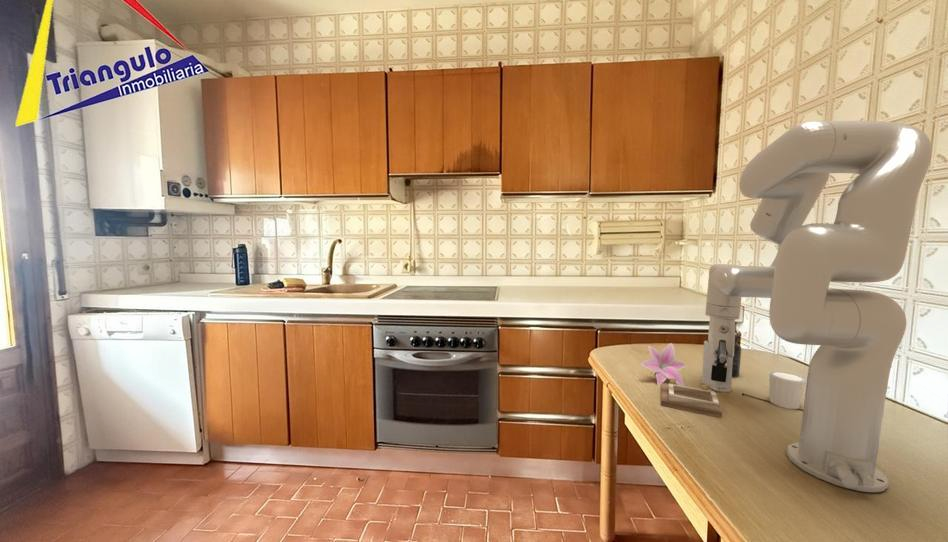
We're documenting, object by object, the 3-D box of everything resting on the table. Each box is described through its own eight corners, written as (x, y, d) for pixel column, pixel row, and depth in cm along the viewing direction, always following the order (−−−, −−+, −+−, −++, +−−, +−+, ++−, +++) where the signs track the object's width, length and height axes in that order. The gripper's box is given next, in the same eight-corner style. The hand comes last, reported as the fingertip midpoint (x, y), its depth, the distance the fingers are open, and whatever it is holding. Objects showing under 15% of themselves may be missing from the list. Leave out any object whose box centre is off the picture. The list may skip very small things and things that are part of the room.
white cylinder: (810, 411, 86) (813, 383, 86) (776, 408, 88) (780, 380, 87) (791, 399, 93) (794, 372, 92) (760, 396, 94) (763, 369, 94)
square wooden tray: (721, 418, 82) (722, 404, 82) (661, 405, 87) (662, 392, 87) (714, 396, 93) (715, 384, 93) (661, 386, 98) (662, 375, 98)
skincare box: (731, 392, 96) (736, 347, 95) (715, 391, 96) (719, 346, 95) (715, 382, 102) (719, 340, 101) (699, 382, 102) (703, 339, 101)
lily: (631, 383, 103) (645, 360, 98) (637, 356, 112) (649, 334, 107) (676, 403, 99) (693, 380, 94) (678, 374, 108) (693, 352, 103)
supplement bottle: (738, 372, 111) (742, 333, 110) (739, 379, 105) (744, 338, 104) (711, 367, 115) (714, 329, 113) (711, 374, 109) (715, 334, 108)
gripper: (746, 319, 88) (739, 390, 89) (733, 307, 103) (727, 368, 105) (709, 315, 91) (703, 384, 93) (702, 304, 107) (697, 363, 108)
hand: (716, 375), depth 99 cm, fingers closed on skincare box, 7 cm apart
